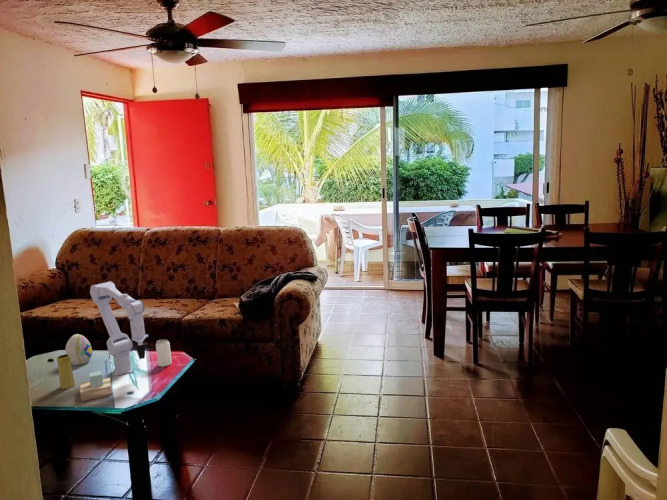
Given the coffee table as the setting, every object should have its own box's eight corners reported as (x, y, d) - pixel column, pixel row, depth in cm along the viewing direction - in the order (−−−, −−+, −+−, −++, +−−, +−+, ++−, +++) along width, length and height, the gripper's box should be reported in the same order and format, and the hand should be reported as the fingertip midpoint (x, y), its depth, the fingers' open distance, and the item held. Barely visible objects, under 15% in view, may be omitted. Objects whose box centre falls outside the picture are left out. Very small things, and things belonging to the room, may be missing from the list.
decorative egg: (86, 366, 262) (82, 337, 260) (62, 367, 262) (57, 339, 260) (97, 357, 274) (93, 330, 272) (74, 359, 274) (70, 331, 272)
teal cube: (90, 384, 229) (89, 373, 228) (103, 381, 231) (101, 370, 230) (90, 388, 224) (89, 377, 223) (103, 385, 226) (101, 374, 225)
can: (167, 367, 253) (164, 343, 251) (155, 366, 254) (152, 343, 253) (174, 362, 259) (171, 338, 258) (162, 362, 261) (159, 338, 259)
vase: (63, 384, 240) (59, 354, 238) (77, 382, 241) (72, 353, 238) (57, 389, 234) (53, 359, 232) (71, 388, 235) (67, 357, 232)
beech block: (81, 392, 231) (80, 383, 230) (111, 385, 236) (109, 377, 235) (81, 402, 220) (80, 393, 219) (112, 395, 225) (111, 386, 224)
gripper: (148, 329, 233) (152, 358, 235) (145, 322, 246) (148, 349, 248) (131, 332, 230) (135, 362, 232) (129, 324, 243) (132, 352, 245)
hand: (141, 356), depth 240 cm, fingers open, 7 cm apart
